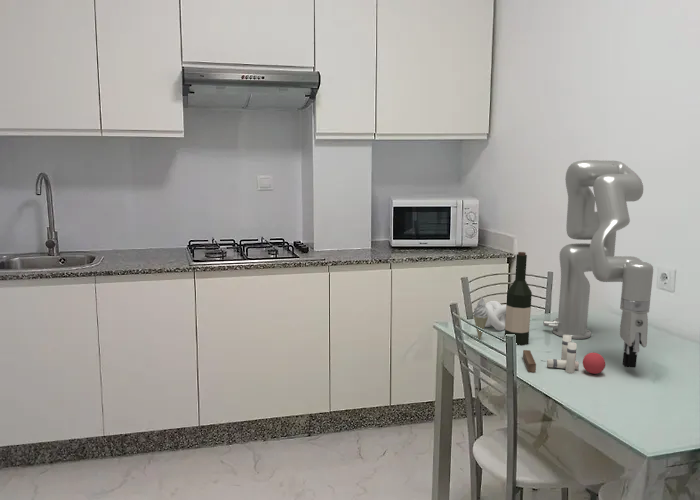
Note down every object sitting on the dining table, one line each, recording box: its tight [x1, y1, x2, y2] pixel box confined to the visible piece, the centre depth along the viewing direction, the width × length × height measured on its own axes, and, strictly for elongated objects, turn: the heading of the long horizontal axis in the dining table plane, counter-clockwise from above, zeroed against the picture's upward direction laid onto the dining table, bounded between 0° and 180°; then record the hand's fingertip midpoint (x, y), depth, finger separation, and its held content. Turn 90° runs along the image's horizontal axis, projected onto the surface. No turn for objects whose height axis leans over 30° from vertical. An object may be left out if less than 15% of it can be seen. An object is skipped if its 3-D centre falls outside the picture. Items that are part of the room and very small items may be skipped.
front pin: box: [546, 358, 580, 371], centre depth 176 cm, size 2×2×8 cm
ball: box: [582, 352, 606, 375], centre depth 172 cm, size 6×6×6 cm
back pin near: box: [565, 341, 577, 374], centre depth 172 cm, size 2×2×8 cm
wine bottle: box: [504, 251, 533, 346], centre depth 197 cm, size 8×8×30 cm
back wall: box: [522, 349, 537, 373], centre depth 178 cm, size 2×12×2 cm, turn 171°
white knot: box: [484, 300, 506, 332], centre depth 214 cm, size 11×12×9 cm
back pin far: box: [560, 335, 572, 360], centre depth 179 cm, size 2×2×8 cm
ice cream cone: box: [473, 295, 489, 340], centre depth 200 cm, size 5×5×15 cm
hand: (629, 366), depth 174 cm, fingers closed
